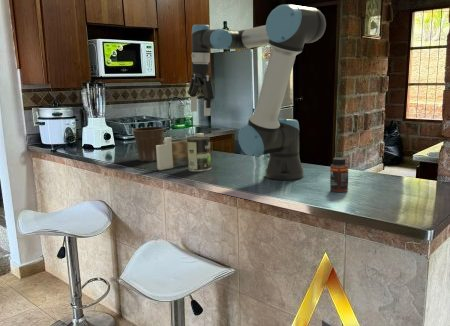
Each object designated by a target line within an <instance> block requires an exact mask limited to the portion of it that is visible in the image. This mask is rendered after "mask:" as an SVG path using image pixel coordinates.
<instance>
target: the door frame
mask: <svg viewBox="0 0 450 326" xmlns="http://www.w3.org/2000/svg"><path fill="white" fill-rule="evenodd" d="M196 137H205V133H202V132H200V133H196ZM172 142H173V141H172V137H170V136H167V137H163V145H156V154H157V161H156V167H157V170H158V171H162V170H163V171H164V170H168V169H173V168H174V166H173V157H172Z"/></svg>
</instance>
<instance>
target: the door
mask: <svg viewBox="0 0 450 326" xmlns="http://www.w3.org/2000/svg"><path fill="white" fill-rule="evenodd" d="M172 157H173V167H177V166H183V165H188V149H187V139H186V140H180V141H172Z"/></svg>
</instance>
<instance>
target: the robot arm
mask: <svg viewBox="0 0 450 326" xmlns="http://www.w3.org/2000/svg"><path fill="white" fill-rule="evenodd" d="M326 28H327V21H326V18H325V15H324V14H323V13H322V12H321V10H320V9H317V8H316V7H311V6H302V5H296V4H291V3H290V4H289V3H288V4H280V5H278V6H275V8H274V9H272V10H271V11H270V13H269V14H268V16H267V19H266V22H265V25H260V26H255V27H251V28H250V27H249V28H247V29H246V28H245V29H241V30H231V29H224V28H217V29H211V27H210V25H209V24H193V25H192V28H191V35H190V37H191V55H190V58H191V62H192V63H191V73H192V74H190V75H191V78H190V81H189V83H190V84H189V87H188V88H189V89H188V91H187V94H188V95H189V97H190V112H198V92H199V89H200V88H201V91H202V93H203V96H204V99H203V116H204V117H209V116H211V114H212V113H211V111H212V110H211V106H212V105H211V103H212V102H211V101H212V100H214V99H215V97H214V92H213V87H212V82H211V76H210V75H207V74H209V73H210V66H211V65H210V64H209V63H210V62H211V58H210V57H211V53H210V52H211V51H210V50H211V49H212V50H241V51H246V50H250V49H252V48H257V47H263V46H269V47H270V49H271V50H270V54H269V57H268V61H267V65H266V69H265V73H264V78H263V80H262V84H261V88H260V92H259V95H258V100H257V103H256V106H255V110H254V113H253V114H251V115H249V117H248V121H247V125H243V126H242V127H241V128H240V129H239V131H238V135H237V137H238V138H237V139H238V144H239V146H240V148H241V150H242V151H243V152H244V153H245V154H246V156H250V157H261V156H264V155H269V159H268V163H267V166H266V169H265V177H266V178H268V179H271V180H277V181H291V180H298V179H302V178H303V177H304V175H305V173H304V169H303V166H302V163H301V159H300V124H299V121H298V119H288V118H279V115H280V112H281V109H282V108H281V107H282V104H283V102H284V99H285V95H286V91H287V88H288V84H289V81H290V78H291V74H292V70H293V67H294V64H295V61H296V56H297V55H299V54H301V53H302V52H303V50H304V45H305V44H310V43H311V44H312V43H314V42H315V43H316V41H319V39H321V38H322V37H323V36H324V33H325V31H326ZM193 73H194V74H193Z"/></svg>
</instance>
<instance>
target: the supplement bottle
mask: <svg viewBox="0 0 450 326" xmlns="http://www.w3.org/2000/svg"><path fill="white" fill-rule="evenodd" d="M332 160H333V163H332V164H330V173H329V175H330V179H329V181H330V182H329V183H330V185H329V186H330V187H329V189H330V191H332V192H333V193H346V192H347V191H349V165H348V164H347V163H346V158H345V157H333V158H332Z"/></svg>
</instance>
